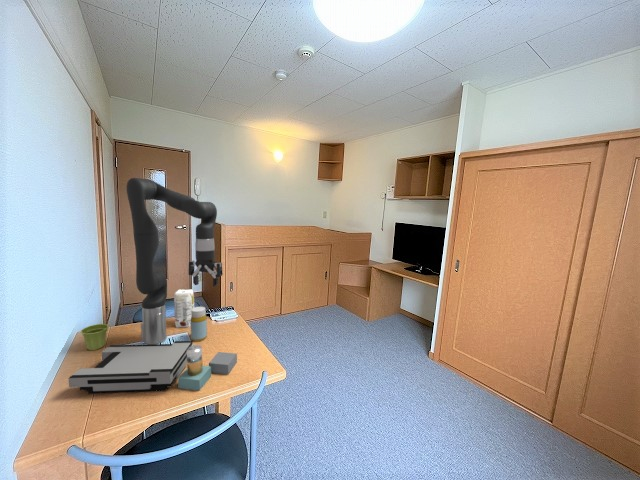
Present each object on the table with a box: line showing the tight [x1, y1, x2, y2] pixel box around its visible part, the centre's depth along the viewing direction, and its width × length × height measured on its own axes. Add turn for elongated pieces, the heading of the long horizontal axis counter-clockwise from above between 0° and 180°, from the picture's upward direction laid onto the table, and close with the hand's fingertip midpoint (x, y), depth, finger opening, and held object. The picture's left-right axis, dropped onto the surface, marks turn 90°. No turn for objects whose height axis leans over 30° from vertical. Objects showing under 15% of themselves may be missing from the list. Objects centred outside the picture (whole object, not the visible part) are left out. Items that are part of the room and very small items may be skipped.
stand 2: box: [208, 351, 238, 375], centre depth 107 cm, size 8×8×4 cm
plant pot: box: [80, 323, 109, 351], centre depth 118 cm, size 9×9×9 cm
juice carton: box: [173, 288, 195, 328], centre depth 141 cm, size 8×9×19 cm
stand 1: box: [177, 365, 212, 392], centre depth 98 cm, size 8×8×4 cm
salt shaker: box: [186, 344, 204, 376], centre depth 97 cm, size 5×5×9 cm
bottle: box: [190, 306, 208, 342], centre depth 128 cm, size 7×7×15 cm
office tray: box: [67, 340, 193, 395], centre depth 100 cm, size 21×32×8 cm, turn 96°
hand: (205, 285), depth 115 cm, fingers open, 8 cm apart
